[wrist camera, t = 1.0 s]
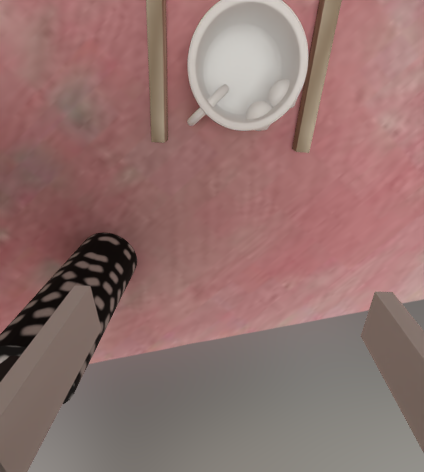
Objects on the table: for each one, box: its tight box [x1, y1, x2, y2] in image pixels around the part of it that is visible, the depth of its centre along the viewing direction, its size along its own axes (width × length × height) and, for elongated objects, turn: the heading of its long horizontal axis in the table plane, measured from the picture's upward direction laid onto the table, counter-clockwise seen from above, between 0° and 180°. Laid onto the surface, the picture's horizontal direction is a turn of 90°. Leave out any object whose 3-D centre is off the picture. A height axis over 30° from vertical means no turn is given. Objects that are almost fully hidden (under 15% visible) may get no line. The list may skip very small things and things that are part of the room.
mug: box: [187, 0, 308, 131], centre depth 27 cm, size 12×10×9 cm
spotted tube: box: [0, 233, 137, 404], centre depth 34 cm, size 8×8×20 cm
